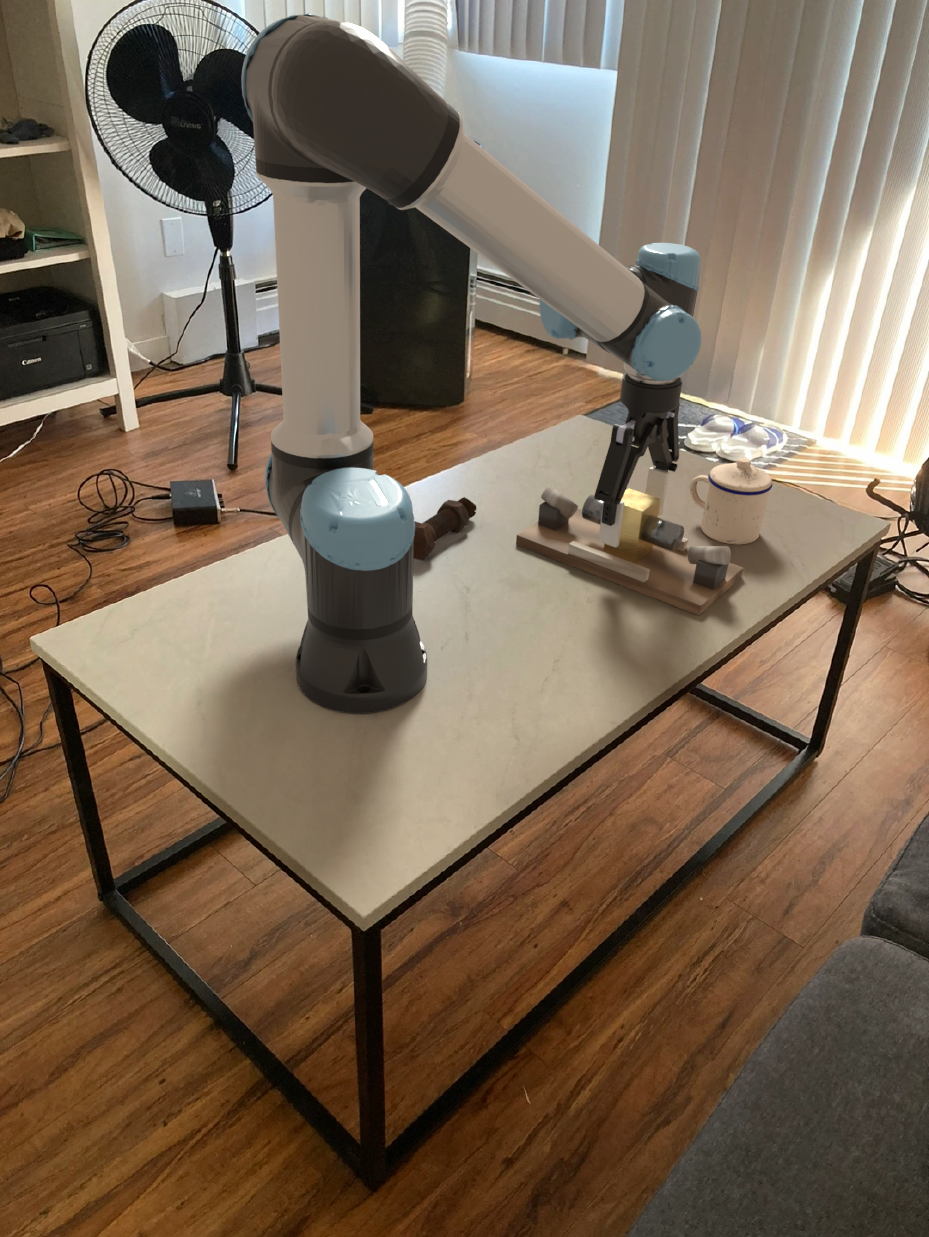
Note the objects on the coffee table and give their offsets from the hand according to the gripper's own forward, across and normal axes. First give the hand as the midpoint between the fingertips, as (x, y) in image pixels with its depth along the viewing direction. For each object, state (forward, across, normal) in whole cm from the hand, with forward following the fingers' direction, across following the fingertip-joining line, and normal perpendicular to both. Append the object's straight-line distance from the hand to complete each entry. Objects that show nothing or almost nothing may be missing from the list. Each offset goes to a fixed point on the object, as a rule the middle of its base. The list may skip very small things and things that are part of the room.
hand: (631, 527), depth 137 cm
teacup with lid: (+5, +18, -6) cm, 20 cm away
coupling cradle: (+5, 0, 0) cm, 5 cm away
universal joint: (+4, 0, 0) cm, 4 cm away
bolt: (+6, -12, +24) cm, 27 cm away
